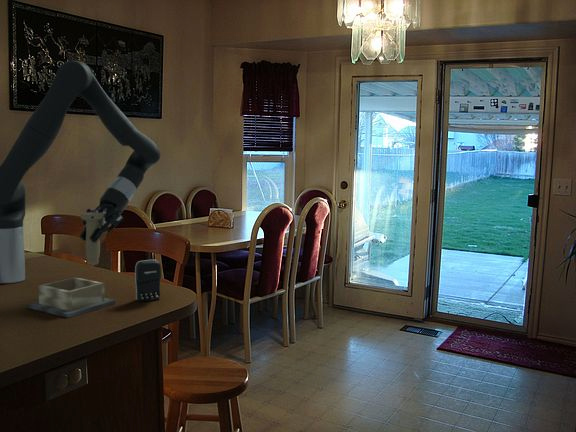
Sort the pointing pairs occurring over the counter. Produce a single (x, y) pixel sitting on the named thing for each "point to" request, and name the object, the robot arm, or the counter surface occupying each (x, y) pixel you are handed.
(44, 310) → the cream grey square tray
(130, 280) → the counter surface
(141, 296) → the battery charger
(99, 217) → the handle
